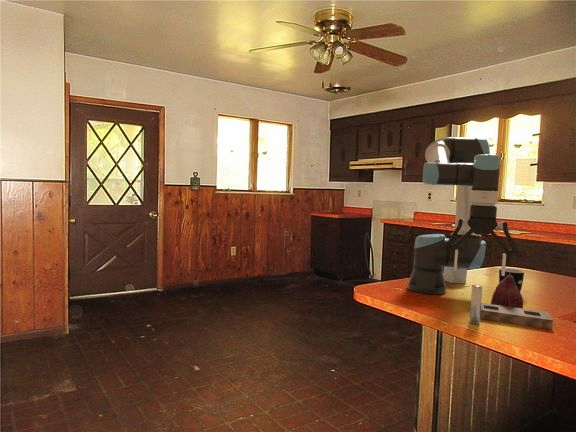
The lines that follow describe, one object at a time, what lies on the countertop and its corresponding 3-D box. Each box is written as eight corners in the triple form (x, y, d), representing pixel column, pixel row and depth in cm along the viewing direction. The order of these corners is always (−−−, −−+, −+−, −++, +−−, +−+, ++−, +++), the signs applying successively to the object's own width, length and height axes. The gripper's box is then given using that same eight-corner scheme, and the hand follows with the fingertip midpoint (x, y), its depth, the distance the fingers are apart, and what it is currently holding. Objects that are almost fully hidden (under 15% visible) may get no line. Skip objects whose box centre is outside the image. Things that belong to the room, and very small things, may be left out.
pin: (469, 323, 132) (472, 286, 131) (469, 321, 135) (472, 284, 134) (479, 325, 131) (482, 287, 130) (479, 322, 133) (482, 285, 133)
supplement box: (452, 283, 189) (454, 256, 188) (442, 280, 196) (444, 253, 195) (466, 283, 191) (468, 256, 190) (456, 279, 198) (458, 253, 197)
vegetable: (519, 323, 145) (529, 285, 140) (487, 313, 150) (495, 276, 145) (523, 309, 153) (532, 273, 148) (492, 300, 159) (500, 265, 153)
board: (474, 318, 138) (475, 309, 138) (474, 310, 147) (474, 301, 147) (552, 329, 129) (552, 320, 129) (546, 320, 139) (547, 311, 138)
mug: (519, 298, 167) (521, 273, 166) (494, 294, 172) (496, 269, 172) (525, 293, 176) (527, 269, 175) (502, 289, 182) (504, 266, 181)
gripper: (440, 202, 131) (435, 269, 133) (531, 207, 122) (525, 279, 123) (441, 202, 138) (437, 266, 140) (528, 206, 128) (522, 275, 130)
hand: (478, 272), depth 131 cm, fingers open, 13 cm apart
